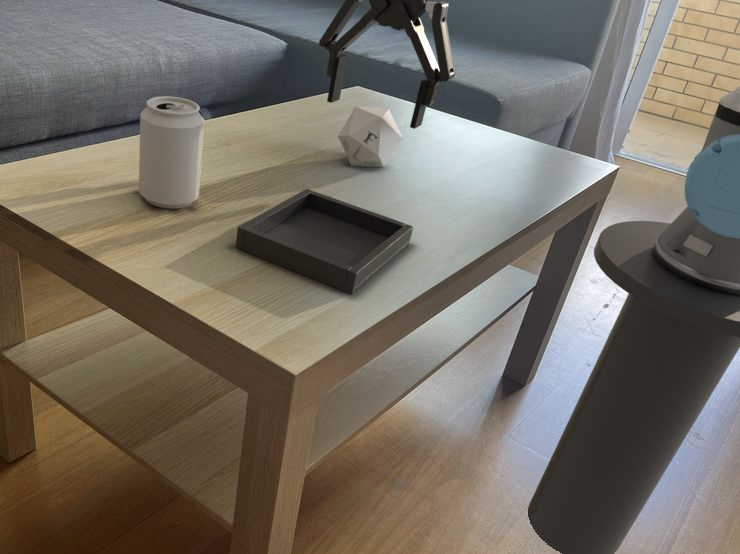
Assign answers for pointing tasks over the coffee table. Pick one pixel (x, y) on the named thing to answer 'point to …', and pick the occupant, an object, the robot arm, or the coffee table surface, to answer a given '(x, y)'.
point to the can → (170, 151)
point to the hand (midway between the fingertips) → (373, 113)
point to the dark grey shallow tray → (325, 239)
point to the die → (370, 137)
